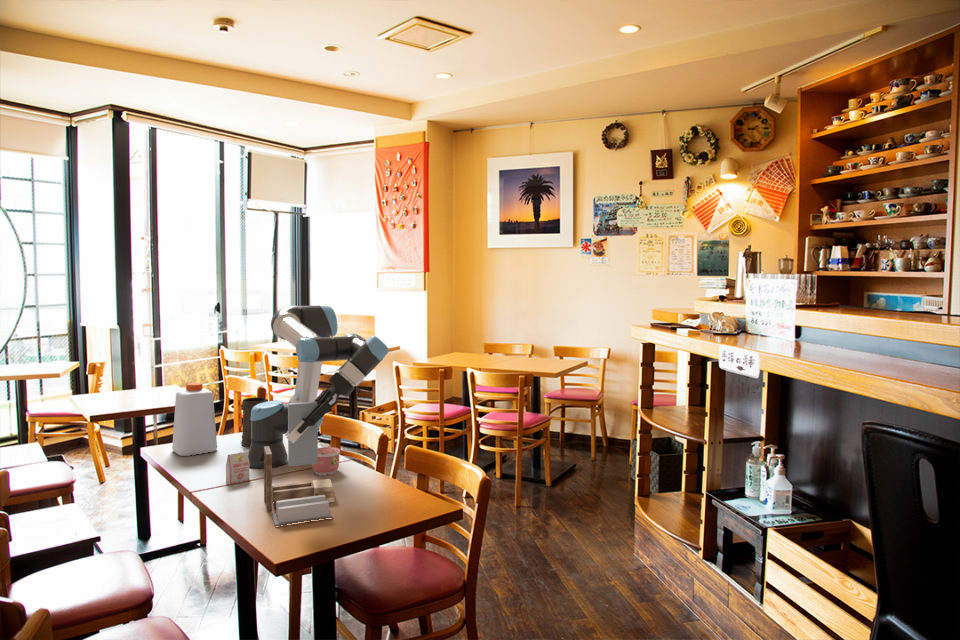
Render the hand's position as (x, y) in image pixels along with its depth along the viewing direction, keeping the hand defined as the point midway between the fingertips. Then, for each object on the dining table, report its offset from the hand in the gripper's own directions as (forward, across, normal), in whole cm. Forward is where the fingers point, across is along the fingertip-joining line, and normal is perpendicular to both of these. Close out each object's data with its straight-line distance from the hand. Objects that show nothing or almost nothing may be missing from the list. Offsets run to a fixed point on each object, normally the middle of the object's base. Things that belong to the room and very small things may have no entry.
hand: (289, 439), depth 169 cm
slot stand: (+14, 0, -20) cm, 24 cm away
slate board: (+3, 0, -8) cm, 9 cm away
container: (+4, +42, -29) cm, 51 cm away
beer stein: (+19, +91, -14) cm, 94 cm away
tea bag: (+26, +43, -8) cm, 51 cm away
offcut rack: (+13, +14, -20) cm, 28 cm away
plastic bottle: (+36, +90, +3) cm, 97 cm away
